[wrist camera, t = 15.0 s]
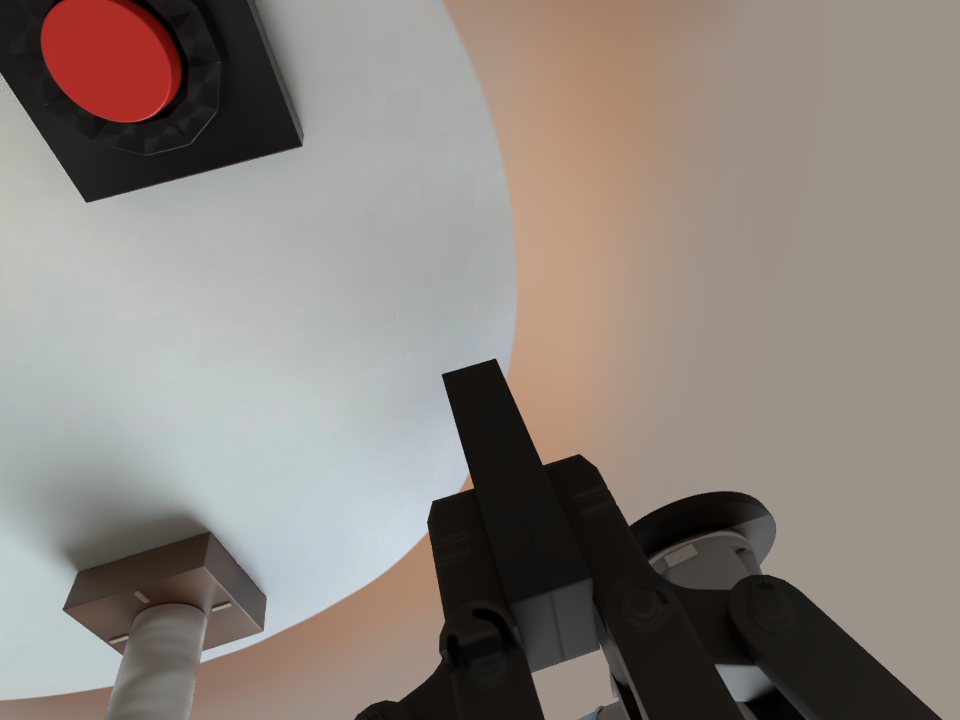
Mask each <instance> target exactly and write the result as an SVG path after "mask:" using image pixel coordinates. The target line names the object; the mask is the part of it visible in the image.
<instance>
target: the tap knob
mask: <svg viewBox="0 0 960 720" xmlns="http://www.w3.org/2000/svg"><path fill="white" fill-rule="evenodd" d="M206 625H207V617H206V615H205V614H204V613H203V612H202V611H201V610H199V609H198V608H196V607H193V606H190V605H185V604H175V603H171V604H161V605H157V606H153V607H150V608H148V609H146V610H144V611H142V612H141V613H139V614H138V615H137V616H136V617H135V619H134V621H133V624H132V628H131V631H130V634H129V638H128V641H127V644H126V648H125V651H124V654H123V658H122V661H121V664H120V668H119V671H118V674H117V678H116V681H115V685H114V688H113V691H112V695H111V698H110V701H109V705H108V708H107V711H106V715H105V718H104V720H189V717H190V712H191V706H192V701H193V696H194V690H195V685H196V679H197V674H198V669H199V663H200V658H201V652H202V647H203V642H204V636H205V631H206Z"/></svg>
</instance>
